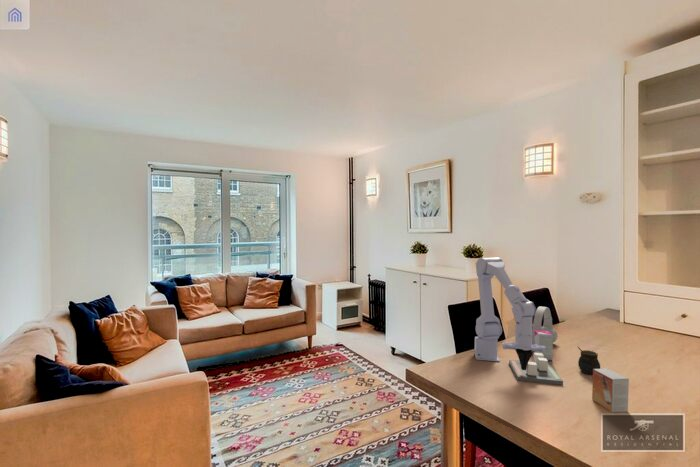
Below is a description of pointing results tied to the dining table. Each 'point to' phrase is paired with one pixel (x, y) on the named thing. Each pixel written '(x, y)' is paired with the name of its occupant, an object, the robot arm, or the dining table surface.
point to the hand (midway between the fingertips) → (523, 369)
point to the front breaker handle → (531, 368)
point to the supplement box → (544, 343)
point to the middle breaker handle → (542, 364)
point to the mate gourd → (588, 361)
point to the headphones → (547, 323)
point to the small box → (610, 390)
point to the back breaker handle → (537, 356)
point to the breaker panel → (541, 377)
